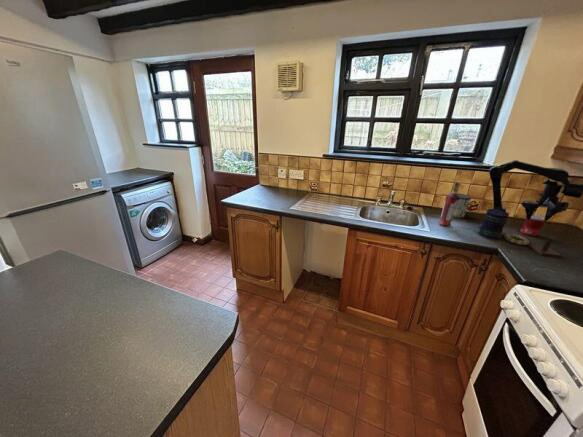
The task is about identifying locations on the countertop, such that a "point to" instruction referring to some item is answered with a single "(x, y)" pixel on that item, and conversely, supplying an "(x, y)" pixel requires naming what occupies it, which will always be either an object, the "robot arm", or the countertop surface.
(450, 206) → the liquor
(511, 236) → the tape
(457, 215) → the coffee can
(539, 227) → the canned food
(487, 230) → the storage jar
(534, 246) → the tape post
